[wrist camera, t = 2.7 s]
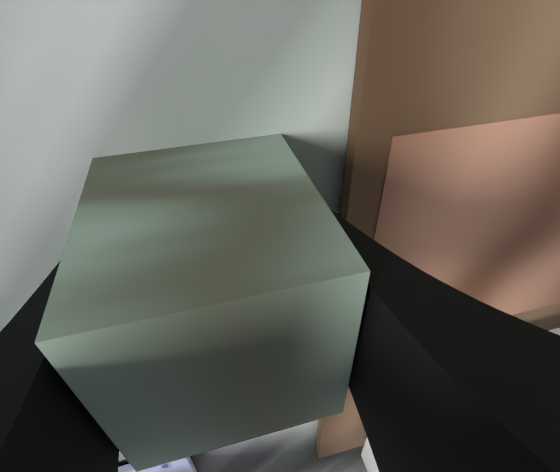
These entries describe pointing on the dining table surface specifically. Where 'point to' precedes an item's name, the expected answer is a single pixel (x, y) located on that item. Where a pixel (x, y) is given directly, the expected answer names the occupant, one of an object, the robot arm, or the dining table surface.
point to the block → (204, 299)
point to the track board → (458, 155)
